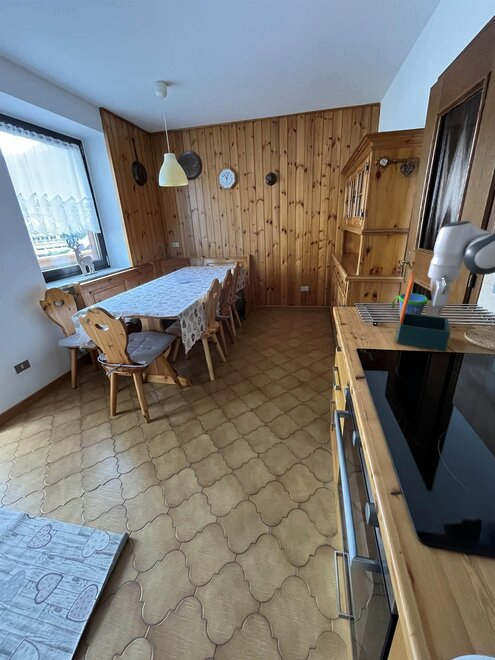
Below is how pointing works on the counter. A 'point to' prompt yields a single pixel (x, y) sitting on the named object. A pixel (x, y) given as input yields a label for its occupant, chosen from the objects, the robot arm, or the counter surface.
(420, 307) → the snack cup
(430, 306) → the block
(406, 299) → the lid
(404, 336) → the dark teal open box
